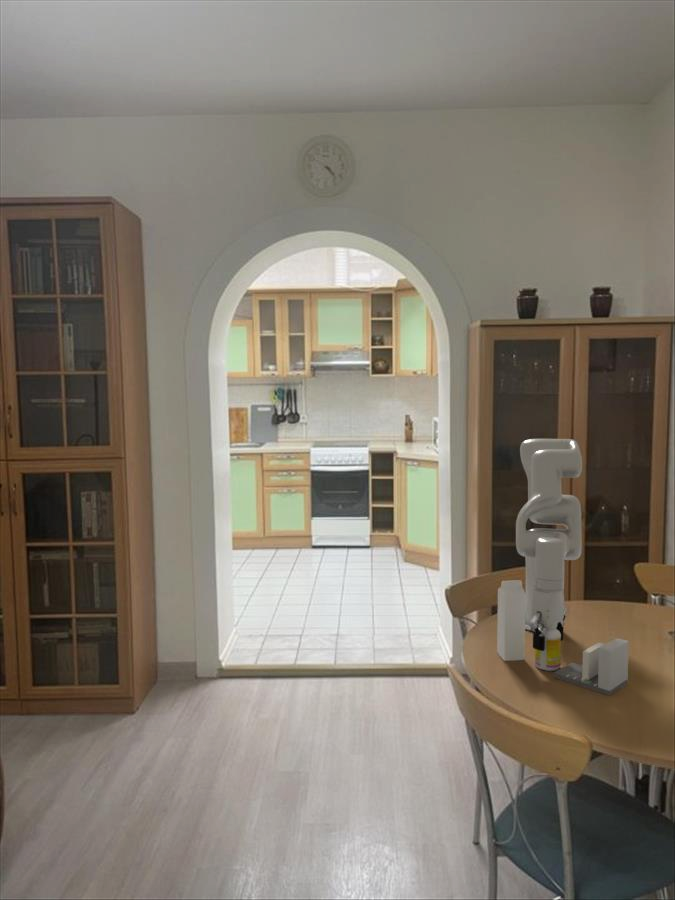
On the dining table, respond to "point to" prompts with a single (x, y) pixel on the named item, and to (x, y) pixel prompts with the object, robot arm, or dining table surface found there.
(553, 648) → the supplement bottle
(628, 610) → the dining table surface
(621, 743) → the dining table surface
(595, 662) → the cream flat slab
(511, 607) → the milk
